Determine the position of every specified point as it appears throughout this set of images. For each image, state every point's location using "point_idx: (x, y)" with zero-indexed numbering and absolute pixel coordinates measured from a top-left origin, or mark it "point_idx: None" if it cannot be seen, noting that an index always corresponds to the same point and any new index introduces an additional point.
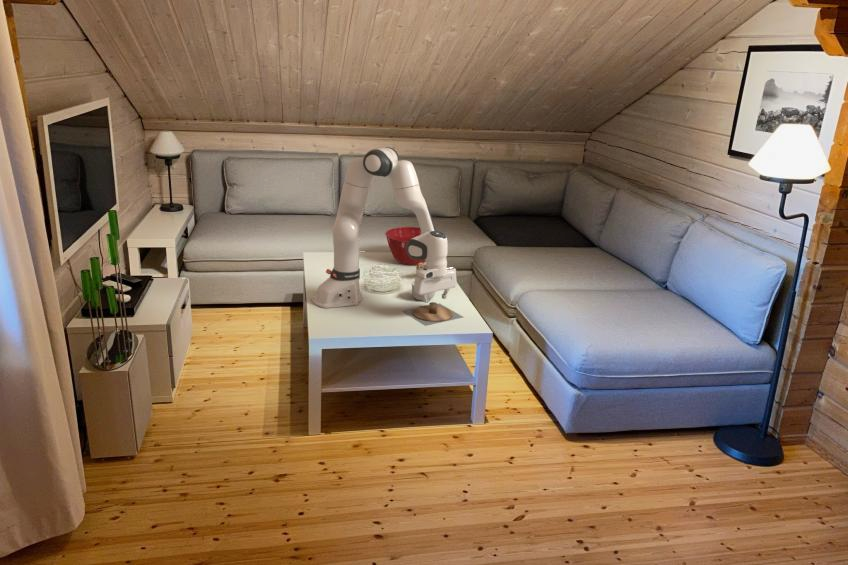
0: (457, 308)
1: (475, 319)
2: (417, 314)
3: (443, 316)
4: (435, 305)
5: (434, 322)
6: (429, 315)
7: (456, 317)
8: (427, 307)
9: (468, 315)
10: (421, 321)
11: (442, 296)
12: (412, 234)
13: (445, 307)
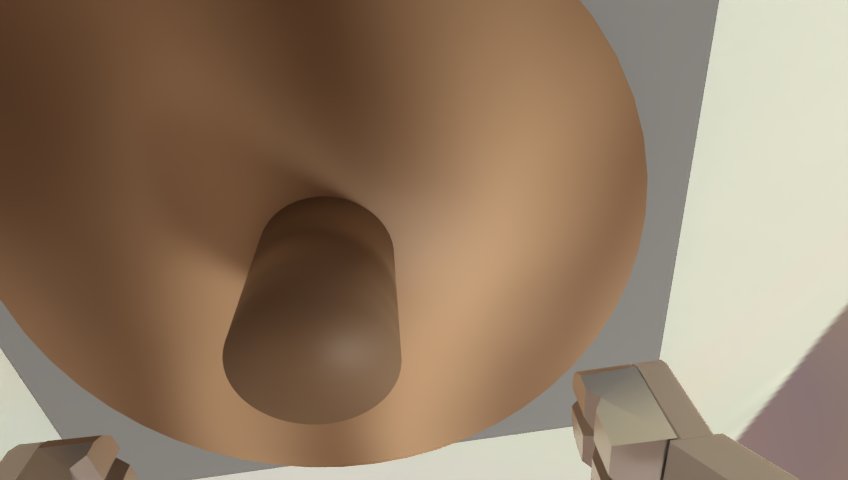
0: (837, 127)
1: None
2: (28, 259)
3: (406, 404)
4: (325, 416)
5: None
6: (224, 338)
7: (566, 405)
8: (327, 17)
9: (748, 364)
10: (72, 401)
11: (594, 419)
12: None
13: (687, 60)
